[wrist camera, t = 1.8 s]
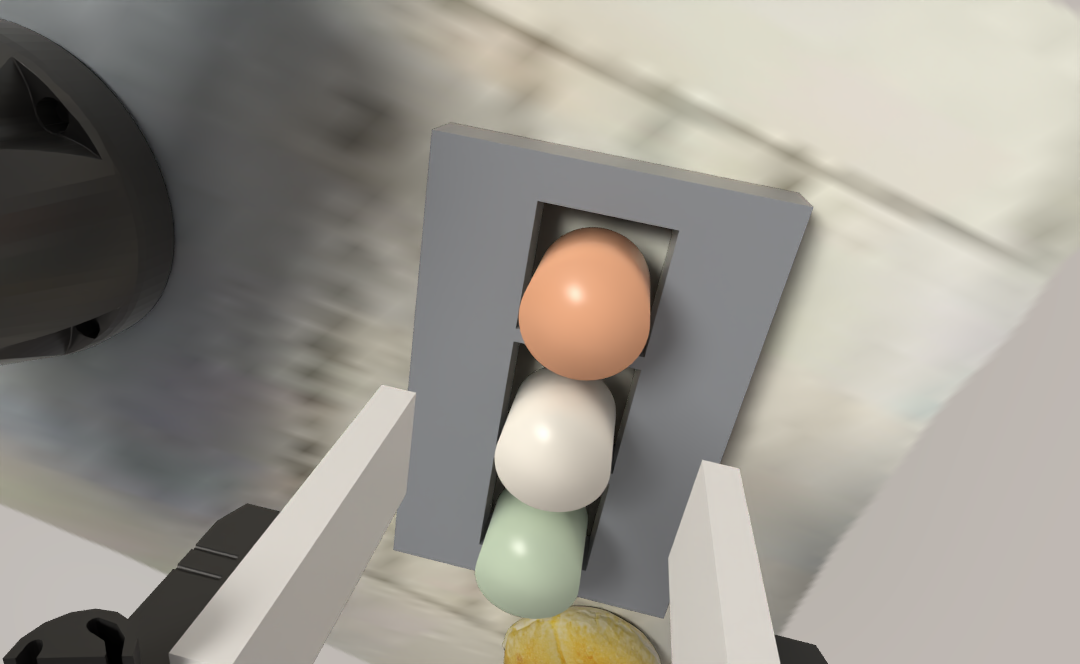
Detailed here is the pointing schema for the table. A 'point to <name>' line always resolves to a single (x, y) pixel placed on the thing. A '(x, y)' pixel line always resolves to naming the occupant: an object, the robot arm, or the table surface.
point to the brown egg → (587, 305)
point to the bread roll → (577, 640)
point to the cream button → (557, 442)
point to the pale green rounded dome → (531, 558)
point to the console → (660, 370)
